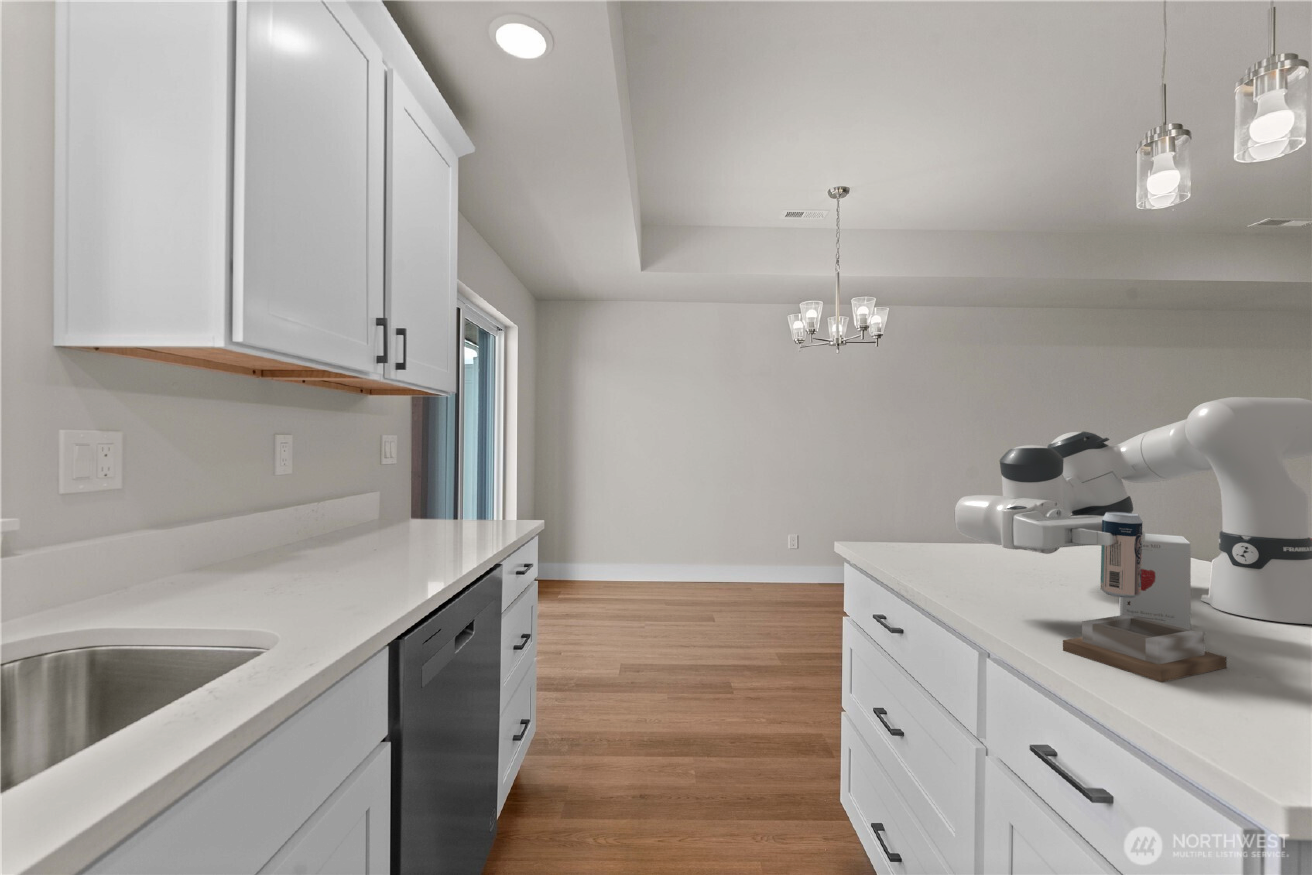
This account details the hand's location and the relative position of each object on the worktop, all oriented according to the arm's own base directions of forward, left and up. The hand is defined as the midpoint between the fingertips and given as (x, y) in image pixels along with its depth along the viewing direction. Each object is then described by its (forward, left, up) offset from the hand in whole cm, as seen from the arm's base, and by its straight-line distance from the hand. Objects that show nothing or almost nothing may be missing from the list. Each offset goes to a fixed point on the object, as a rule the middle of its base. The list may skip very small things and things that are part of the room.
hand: (1127, 538), depth 90 cm
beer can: (0, -1, -9) cm, 9 cm away
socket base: (0, +2, -17) cm, 17 cm away
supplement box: (-20, -8, -17) cm, 27 cm away
